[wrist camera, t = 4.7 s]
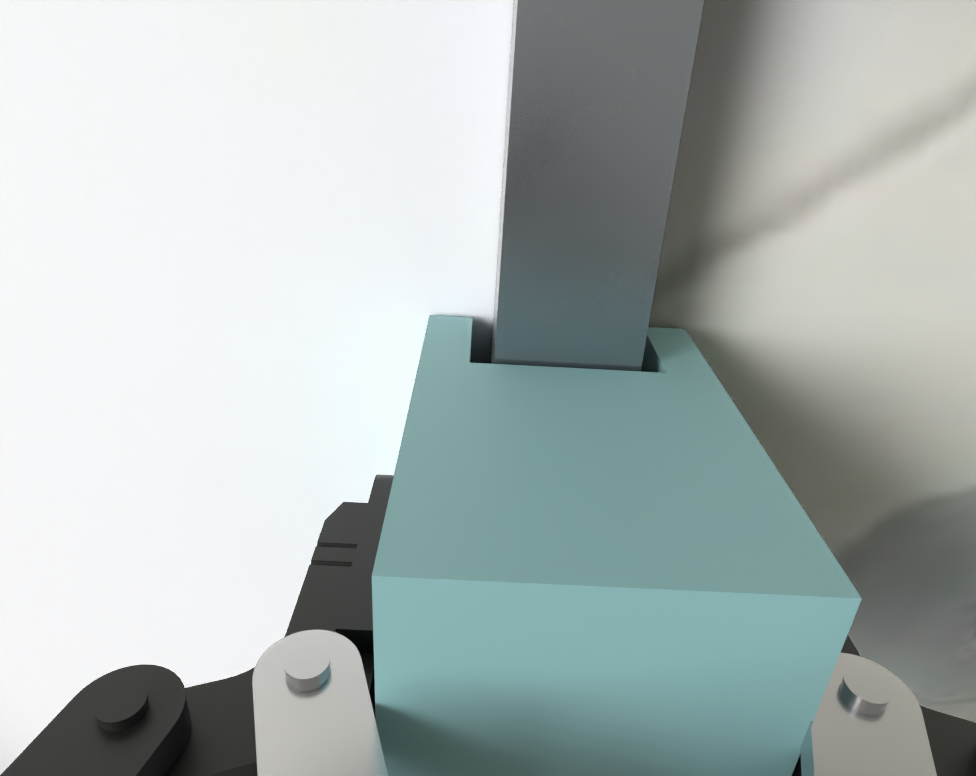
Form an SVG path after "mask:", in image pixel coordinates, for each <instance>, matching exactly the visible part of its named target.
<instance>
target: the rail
mask: <svg viewBox="0 0 976 776" xmlns="http://www.w3.org/2000/svg"><path fill="white" fill-rule="evenodd" d="M703 5H704V0H514V6H513V22H512V38H511V54H510V70H509V86H508V101H507V117H506V133H505V149H504V165H503V181H502V197H501V213H500V229H499V245H498V261H497V277H496V292H495V308H494V324H493V340H492V356H491V364H507V365H526V366H545V367H564V368H583V369H602V370H622V371H641V366H642V361H643V355H644V349H645V343H646V337H647V332H648V326H649V320H650V314H651V308H652V302H653V297H654V291H655V285H656V279H657V273H658V267H659V262H660V256H661V250H662V244H663V238H664V233H665V227H666V221H667V215H668V209H669V203H670V198H671V192H672V186H673V180H674V174H675V168H676V163H677V157H678V151H679V145H680V139H681V133H682V128H683V122H684V116H685V110H686V104H687V99H688V93H689V87H690V81H691V75H692V69H693V64H694V58H695V52H696V46H697V40H698V34H699V29H700V23H701V17H702V11H703Z"/></svg>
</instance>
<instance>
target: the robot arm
mask: <svg viewBox="0 0 976 776" xmlns="http://www.w3.org/2000/svg"><path fill="white" fill-rule="evenodd" d="M393 478H394V476H393V475H376V477H375V480H374V483H373V487H372V491H371V495H370V498H369V502H368V503H354V502H343V503H342V504H341V505H340V506H339V507H338V508H337V509H336V510H335V511H334V512H333V513H332V514H331V515H330V516H329V517H328V518H327V519H326V520H325V522H324V525H323V528H322V530H321V533H320V536H319V539H318V544H317V546H316V548H315V551H314V554H313V557H312V560H311V565H309V568H308V571H307V574H306V577H305V580H304V583H303V586H302V589H301V592H300V595H299V597H298V600H297V603H296V606H295V609H294V612H293V615H292V618H291V621H290V624H289V627H288V629H287V632H286V635H285V637H284V638H282V639H281V640H279V641H277V642H276V643H274V644H273V645H272V646H270V647H269V648H268V649H267V650H266V651H265V652H264V653H263V655H262V656H261V657H260V659H259V660H258V662H257V664H256V666H255V667H254V668H252V669H251V670H249V671H247V672H245V673H242V674H240V675H237V676H234V677H230V678H227V679H223V680H219V681H214V682H210V683H205V684H201V685H197V686H192V687H188V688H184V685H183V683H182V681H181V679H180V678H179V677H178V676H177V675H176V674H175V673H174V672H172V671H170V670H169V669H166V668H164V667H161V666H156V665H135V666H129V667H125V668H121V669H118V670H115V671H112V672H110V673H108V674H106V675H104V676H102V677H100V678H98V679H97V680H95V681H93V682H92V683H90V684H89V685H88V686H86V687H85V688H84V689H82V690H81V691H80V692H79V693H78V694H77V695H76V696H75V697H74V698H73V699H72V700H71V701H70V702H69V703H68V704H67V705H66V707H65V708H64V709H63V710H62V711H61V712H60V713H59V714H58V715H57V716H56V717H55V718H54V719H53V720H52V721H51V722H50V723H49V725H48V726H47V727H46V728H45V729H44V730H43V731H42V732H41V733H40V734H39V735H38V736H37V737H36V738H35V739H34V740H33V741H32V743H31V744H30V745H29V746H28V747H27V748H26V749H25V750H24V751H23V752H22V753H21V754H20V755H19V756H18V757H17V758H16V759H15V761H14V762H13V763H12V764H11V765H10V766H9V767H8V768H7V769H6V770H5V771H4V772H3V773H2V774H1V775H0V776H388V773H387V769H386V764H385V760H384V756H383V751H382V747H381V742H380V738H379V734H378V729H377V725H376V715H375V679H374V643H373V606H372V572H373V568H374V563H375V559H376V554H377V550H378V545H379V541H380V536H381V532H382V527H383V523H384V518H385V514H386V509H387V505H388V500H389V496H390V491H391V487H392V483H393ZM792 776H976V723H974V722H970V721H967V720H964V719H960V718H957V717H954V716H950V715H947V714H944V713H940V712H937V711H934V710H931V709H928V708H925V707H922V706H920V705H919V702H918V701H917V699H916V697H915V695H914V694H913V693H912V691H911V690H910V689H909V688H908V686H907V685H906V684H905V683H904V682H903V681H902V680H901V679H899V678H898V677H897V676H896V675H895V674H893V673H892V672H890V671H889V670H888V669H886V668H884V667H883V666H881V665H879V664H877V663H875V662H873V661H871V660H869V659H866V658H863V657H860V655H859V653H858V652H857V650H856V648H855V647H854V645H853V643H852V642H851V640H850V638H849V636H848V635H847V637H846V640H845V642H844V645H843V648H842V650H841V653H840V655H839V658H838V660H837V663H836V665H835V668H834V670H833V673H832V675H831V678H830V680H829V683H828V685H827V688H826V690H825V693H824V695H823V698H822V700H821V703H820V705H819V708H818V710H817V713H816V715H815V718H814V720H813V721H811V722H810V724H809V727H808V729H807V732H806V734H805V737H804V739H803V742H802V744H801V747H800V756H799V758H798V761H797V763H796V766H795V768H794V771H793V773H792Z"/></svg>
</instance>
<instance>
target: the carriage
mask: <svg viewBox="0 0 976 776" xmlns="http://www.w3.org/2000/svg"><path fill="white" fill-rule="evenodd" d="M472 320H473V317H455V316H436V315H430V316H429V321H428V325H427V330H426V334H425V339H424V343H423V348H422V352H421V357H420V361H419V366H418V370H417V375H416V379H415V384H414V388H413V393H412V397H411V402H410V406H409V411H408V415H407V420H406V424H405V429H404V433H403V438H402V442H401V447H400V451H399V456H398V460H397V465H396V469H395V474H394V478H393V483H392V487H391V491H390V496H389V500H388V505H387V509H386V514H385V518H384V523H383V527H382V532H381V536H380V541H379V545H378V550H377V554H376V559H375V563H374V568H373V572H372V606H373V643H374V679H375V715H376V725H377V729H378V734H379V738H380V742H381V747H382V751H383V756H384V760H385V764H386V769H387V773H388V776H792V773H793V771H794V768H795V766H796V763H797V761H798V758H799V756H800V747H801V744H802V742H803V739H804V737H805V734H806V732H807V729H808V727H809V724H810V722H811V721H813V720H814V718H815V715H816V713H817V710H818V708H819V705H820V703H821V700H822V698H823V695H824V693H825V690H826V688H827V685H828V683H829V680H830V678H831V675H832V673H833V670H834V668H835V665H836V663H837V660H838V658H839V655H840V653H841V650H842V648H843V645H844V642H845V640H846V637H847V635H848V632H849V630H850V627H851V625H852V622H853V620H854V617H855V615H856V612H857V610H858V607H859V605H860V602H861V600H862V598H861V596H860V595H859V593H858V592H857V590H856V589H855V587H854V586H853V584H852V583H851V581H850V580H849V578H848V576H847V575H846V573H845V572H844V570H843V569H842V567H841V566H840V564H839V563H838V561H837V560H836V558H835V557H834V555H833V554H832V552H831V551H830V549H829V547H828V546H827V544H826V543H825V541H824V540H823V538H822V537H821V535H820V534H819V532H818V531H817V529H816V528H815V526H814V525H813V523H812V522H811V520H810V518H809V517H808V515H807V514H806V512H805V511H804V509H803V508H802V506H801V505H800V503H799V502H798V500H797V499H796V497H795V496H794V494H793V493H792V491H791V489H790V488H789V486H788V485H787V483H786V482H785V480H784V479H783V477H782V476H781V474H780V473H779V471H778V470H777V468H776V467H775V465H774V464H773V462H772V460H771V459H770V457H769V456H768V454H767V453H766V451H765V450H764V448H763V447H762V445H761V444H760V442H759V441H758V439H757V438H756V436H755V435H754V433H753V431H752V430H751V428H750V427H749V425H748V424H747V422H746V421H745V419H744V418H743V416H742V415H741V413H740V412H739V410H738V409H737V407H736V406H735V404H734V402H733V401H732V399H731V398H730V396H729V395H728V393H727V392H726V390H725V389H724V387H723V386H722V384H721V383H720V381H719V380H718V378H717V377H716V375H715V373H714V372H713V370H712V369H711V367H710V366H709V364H708V363H707V361H706V360H705V358H704V357H703V355H702V354H701V352H700V351H699V349H698V348H697V346H696V344H695V343H694V341H693V340H692V338H691V337H690V335H689V334H688V332H687V331H686V329H679V328H660V327H648V332H647V337H646V343H645V349H644V355H643V361H642V366H641V371H622V370H602V369H583V368H564V367H545V366H526V365H507V364H487V363H470V361H471V341H472Z"/></svg>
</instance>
